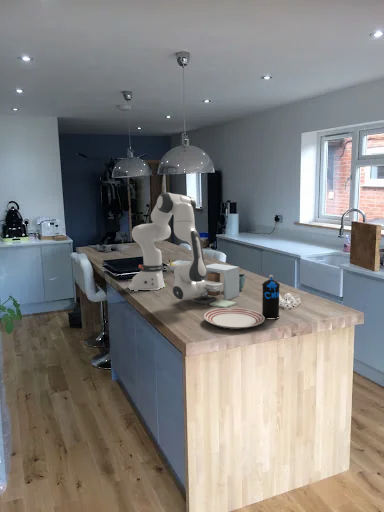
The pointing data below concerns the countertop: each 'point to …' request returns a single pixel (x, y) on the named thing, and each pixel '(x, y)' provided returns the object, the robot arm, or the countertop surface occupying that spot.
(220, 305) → the tile
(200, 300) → the trap pit
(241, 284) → the flower pot
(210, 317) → the dinner plate
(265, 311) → the aerosol can
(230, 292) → the tunnel
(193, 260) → the robot arm
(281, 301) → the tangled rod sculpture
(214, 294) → the walnut block
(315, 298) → the countertop surface
